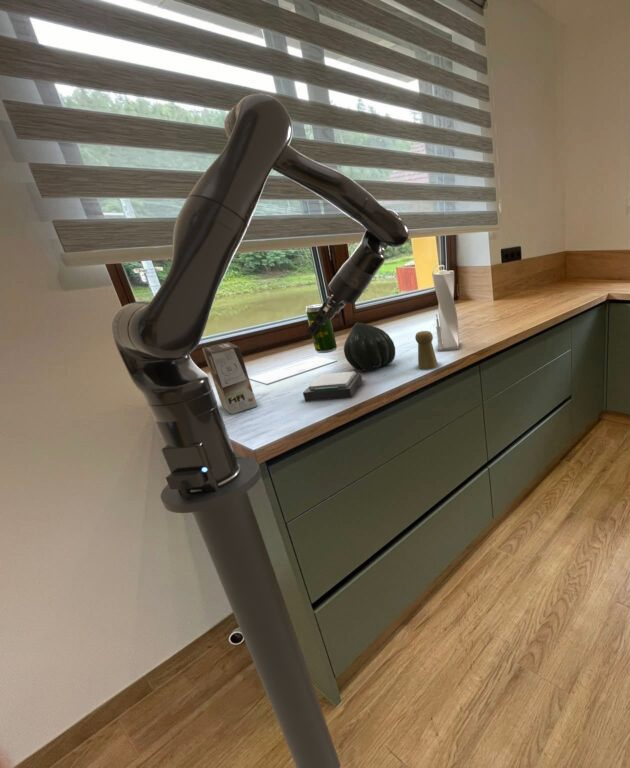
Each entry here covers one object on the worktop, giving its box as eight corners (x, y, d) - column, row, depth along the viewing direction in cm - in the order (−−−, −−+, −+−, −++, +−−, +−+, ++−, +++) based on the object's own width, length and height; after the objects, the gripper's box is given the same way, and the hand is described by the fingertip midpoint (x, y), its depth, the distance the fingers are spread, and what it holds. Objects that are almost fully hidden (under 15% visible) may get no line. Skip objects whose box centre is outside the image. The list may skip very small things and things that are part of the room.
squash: (403, 351, 129) (384, 311, 133) (354, 365, 122) (335, 321, 125) (397, 372, 141) (380, 334, 145) (352, 385, 134) (335, 345, 137)
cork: (415, 369, 130) (410, 334, 126) (422, 363, 136) (417, 329, 132) (434, 369, 129) (429, 334, 125) (440, 362, 135) (436, 329, 131)
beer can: (332, 346, 117) (322, 303, 112) (340, 349, 113) (330, 304, 109) (312, 351, 113) (301, 306, 109) (320, 355, 110) (309, 308, 105)
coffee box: (258, 406, 110) (240, 346, 104) (231, 415, 106) (210, 353, 100) (247, 398, 116) (229, 341, 110) (220, 406, 112) (200, 347, 106)
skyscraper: (439, 344, 155) (429, 265, 145) (461, 342, 156) (453, 263, 145) (438, 351, 147) (427, 267, 137) (461, 349, 148) (453, 266, 138)
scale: (351, 397, 112) (349, 385, 111) (305, 401, 111) (301, 389, 110) (362, 381, 123) (360, 369, 122) (320, 385, 122) (317, 373, 121)
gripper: (346, 267, 113) (311, 315, 117) (330, 273, 100) (290, 328, 103) (370, 286, 115) (335, 332, 119) (357, 294, 102) (318, 347, 105)
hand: (314, 330), depth 111 cm, fingers closed on beer can, 5 cm apart
